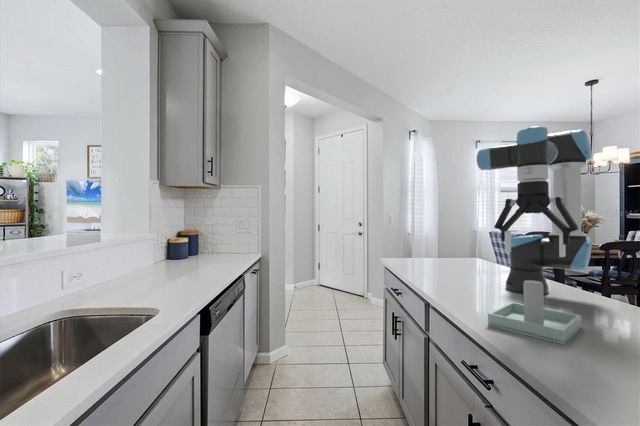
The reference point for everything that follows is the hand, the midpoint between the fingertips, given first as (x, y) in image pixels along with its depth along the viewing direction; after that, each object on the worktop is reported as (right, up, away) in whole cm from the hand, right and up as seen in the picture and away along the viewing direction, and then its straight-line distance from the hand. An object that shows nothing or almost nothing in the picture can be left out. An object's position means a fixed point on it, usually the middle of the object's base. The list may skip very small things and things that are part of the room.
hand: (533, 254), depth 91 cm
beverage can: (0, -20, -1) cm, 20 cm away
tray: (0, -21, -1) cm, 21 cm away
